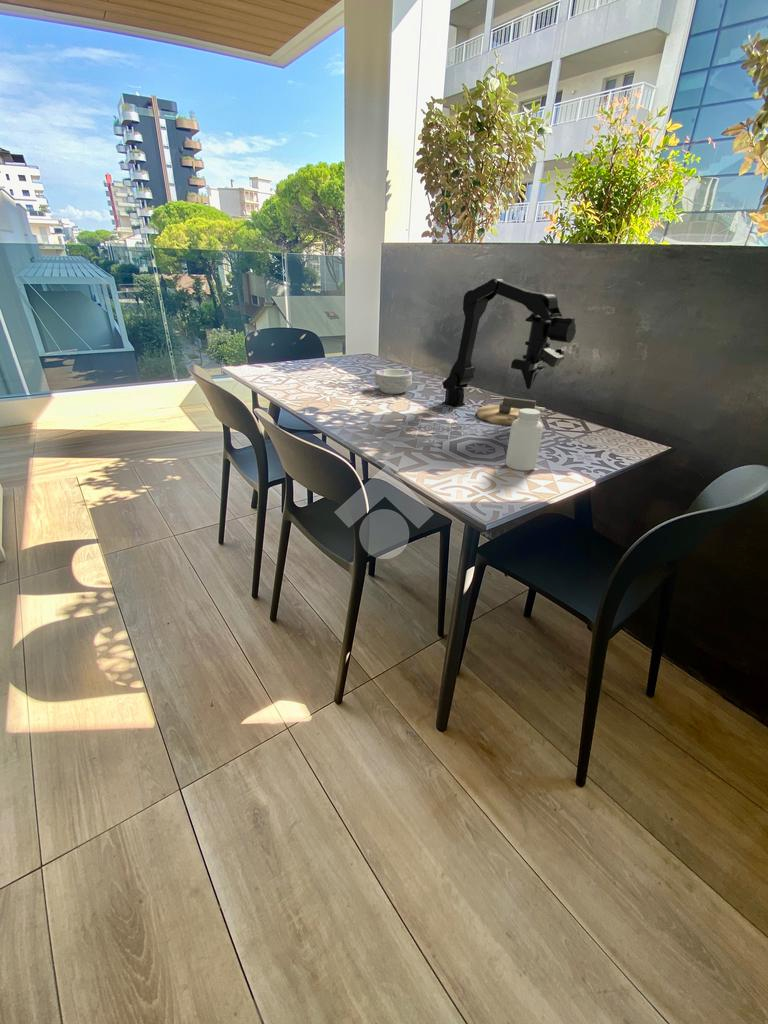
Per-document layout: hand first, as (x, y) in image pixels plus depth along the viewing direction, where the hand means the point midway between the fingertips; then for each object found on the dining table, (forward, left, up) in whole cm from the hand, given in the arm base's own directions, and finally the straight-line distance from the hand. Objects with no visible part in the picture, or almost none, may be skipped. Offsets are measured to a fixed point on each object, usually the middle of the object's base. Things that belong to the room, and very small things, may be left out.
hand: (528, 388), depth 148 cm
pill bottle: (+21, -32, -12) cm, 40 cm away
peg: (-3, +4, -10) cm, 11 cm away
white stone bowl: (-58, -7, -12) cm, 60 cm away
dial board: (-8, +1, -12) cm, 14 cm away
